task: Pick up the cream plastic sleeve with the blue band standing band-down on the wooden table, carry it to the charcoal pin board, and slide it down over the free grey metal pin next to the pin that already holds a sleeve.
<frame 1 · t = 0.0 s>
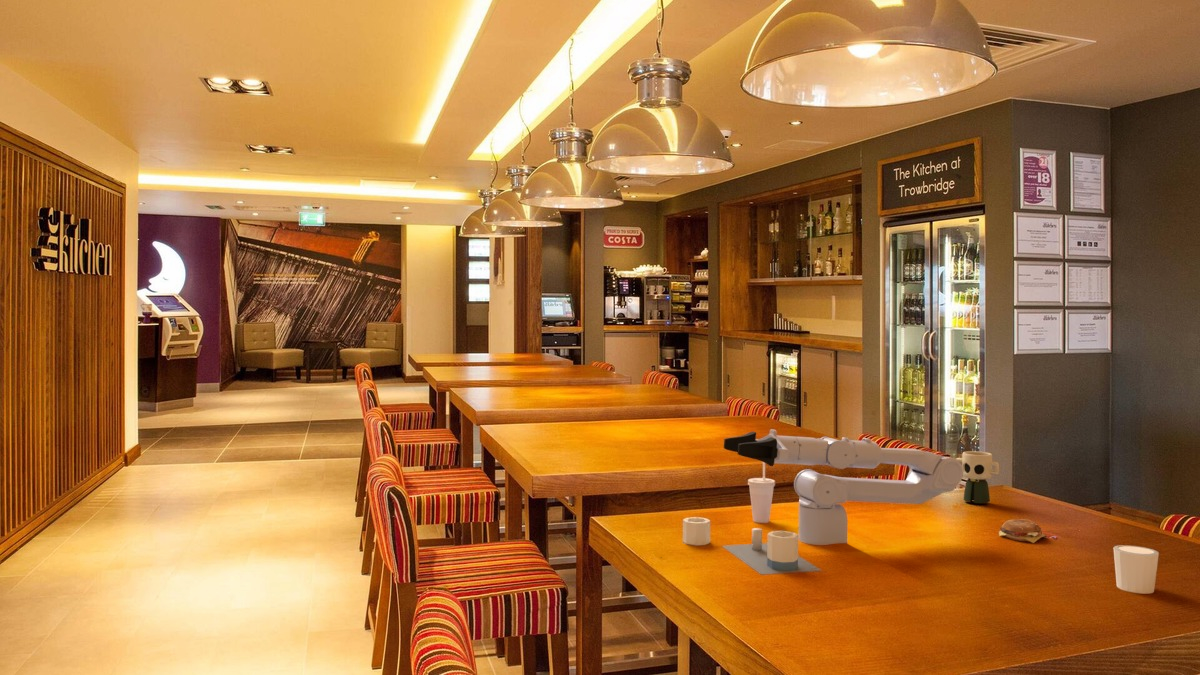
hand: (731, 446, 175), 22 cm above the table, tool horizontal, fingers open, 7 cm apart
white cup: (1135, 589, 153), on the table
pin board: (769, 565, 167), on the table
seated sleeve: (782, 566, 161), point 1 cm above the table, touching pin board
smoothie: (761, 521, 203), on the table
character mug: (976, 503, 223), on the table
hamburger: (1030, 540, 189), on the table
sleeve: (696, 548, 178), on the table
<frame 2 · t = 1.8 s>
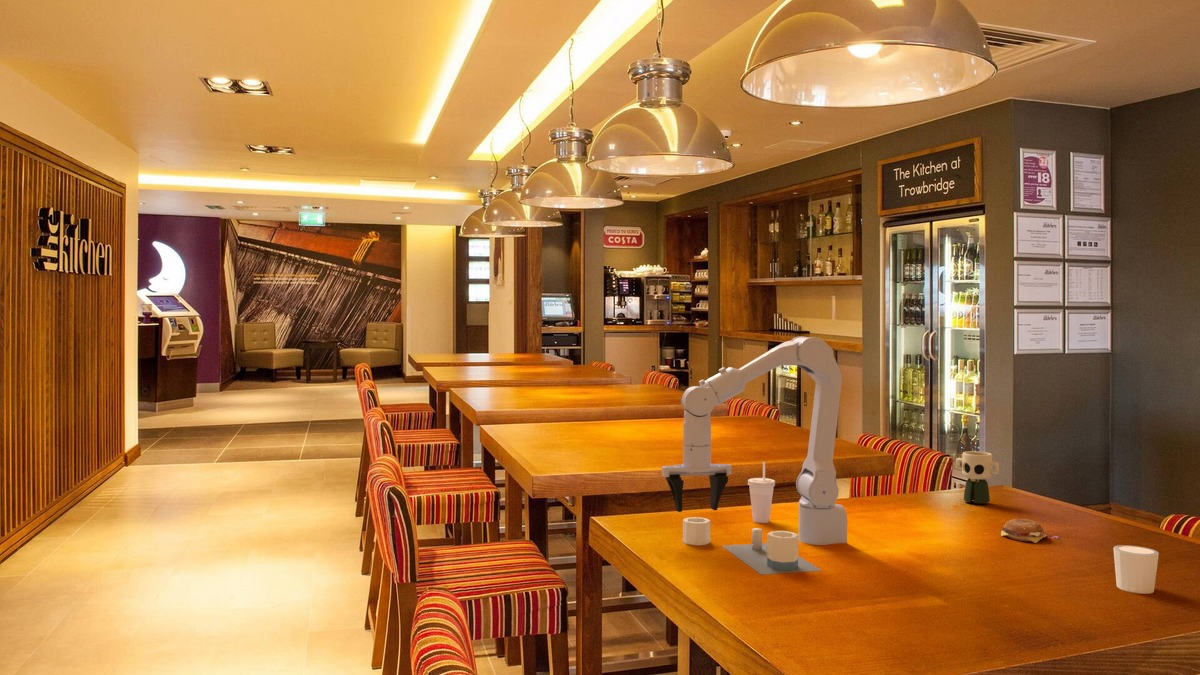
hand: (696, 510, 178), 8 cm above the table, tool pointing down, fingers open, 7 cm apart
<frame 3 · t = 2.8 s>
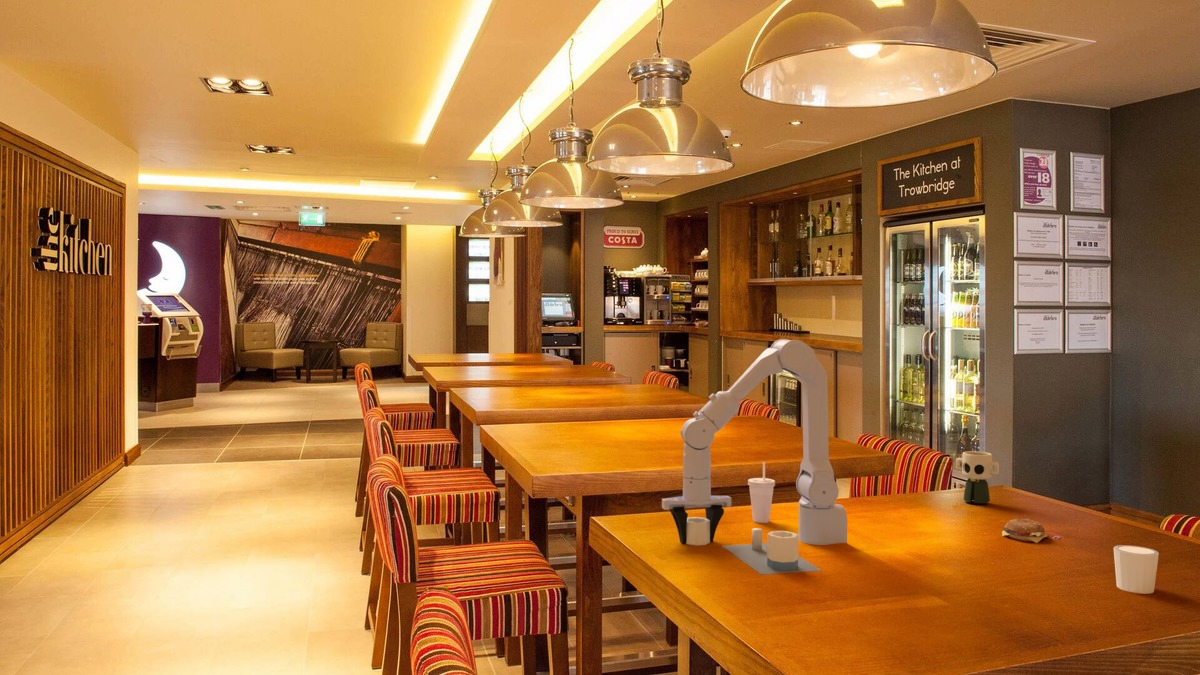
hand: (696, 542, 178), 1 cm above the table, tool pointing down, fingers closed on sleeve, 5 cm apart
sleeve: (696, 548, 178), on the table, touching gripper
everything else where it was.
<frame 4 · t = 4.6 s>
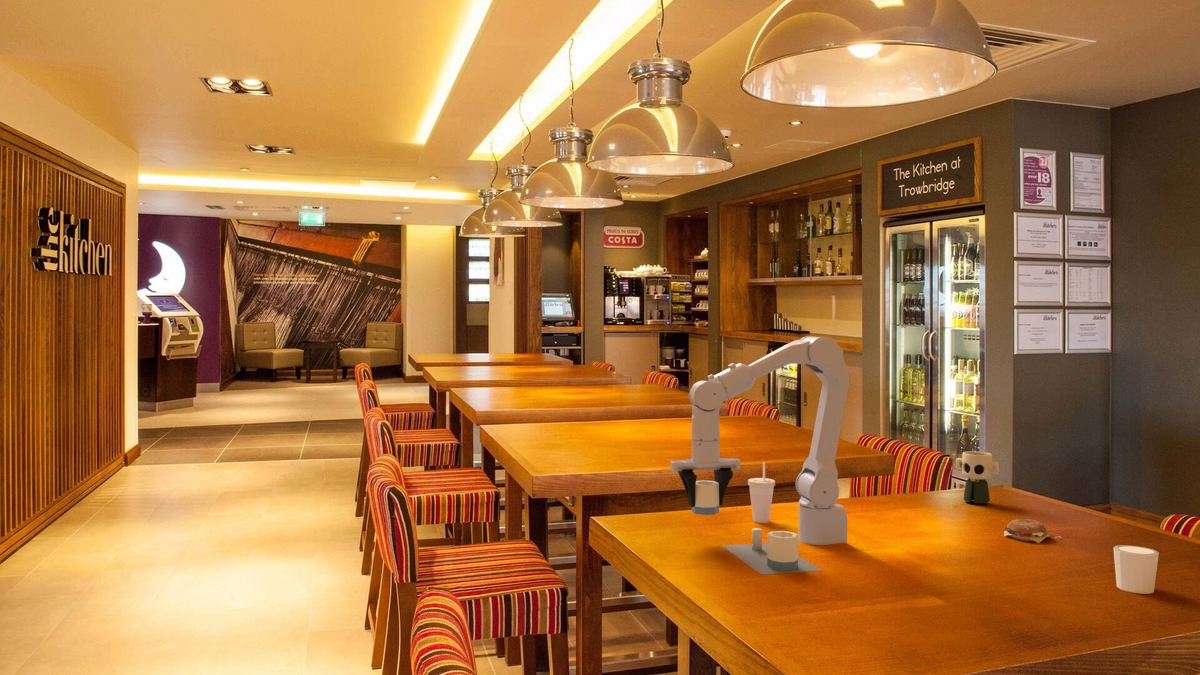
hand: (705, 505, 177), 9 cm above the table, tool pointing down, fingers closed on sleeve, 5 cm apart
sleeve: (705, 511, 177), point 8 cm above the table, touching gripper
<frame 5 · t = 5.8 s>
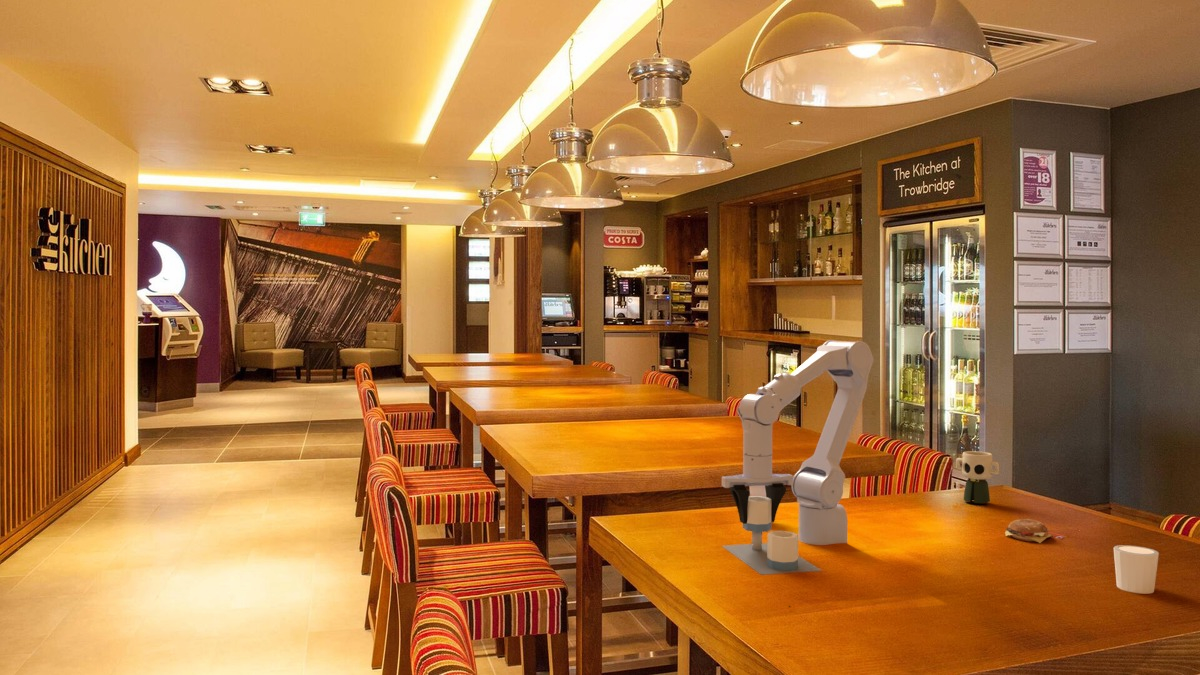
hand: (757, 521, 172), 7 cm above the table, tool pointing down, fingers closed on sleeve, 5 cm apart
sleeve: (757, 528, 172), point 6 cm above the table, touching gripper
when the fingers open (5 cm above the table, at t = 6.7 s): sleeve drops 2 cm, resting on pin board.
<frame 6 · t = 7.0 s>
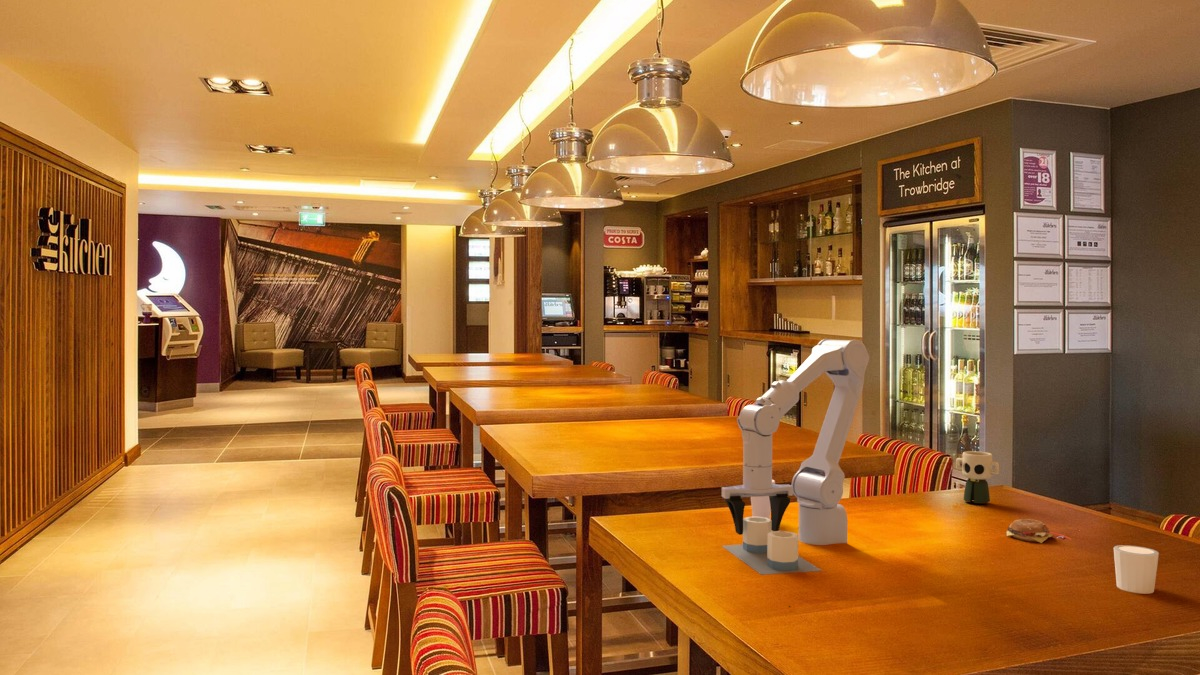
hand: (757, 532, 172), 5 cm above the table, tool pointing down, fingers open, 7 cm apart
sleeve: (757, 549, 172), point 1 cm above the table, touching pin board
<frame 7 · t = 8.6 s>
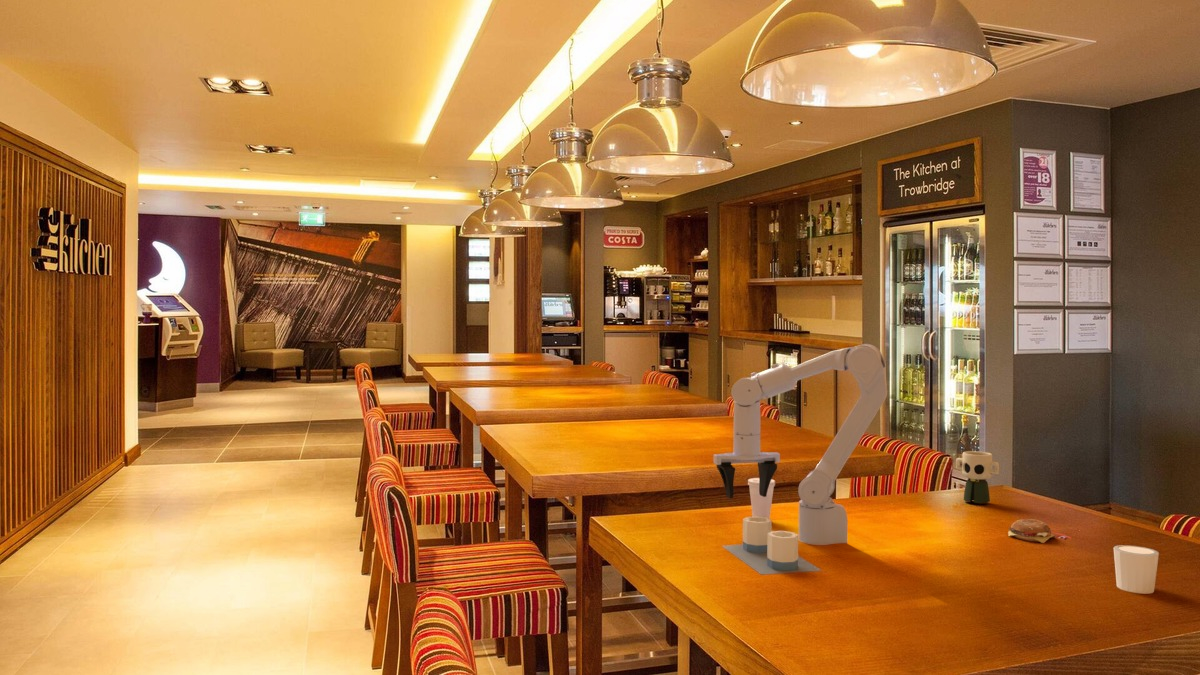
hand: (746, 496, 185), 9 cm above the table, tool pointing down, fingers open, 7 cm apart
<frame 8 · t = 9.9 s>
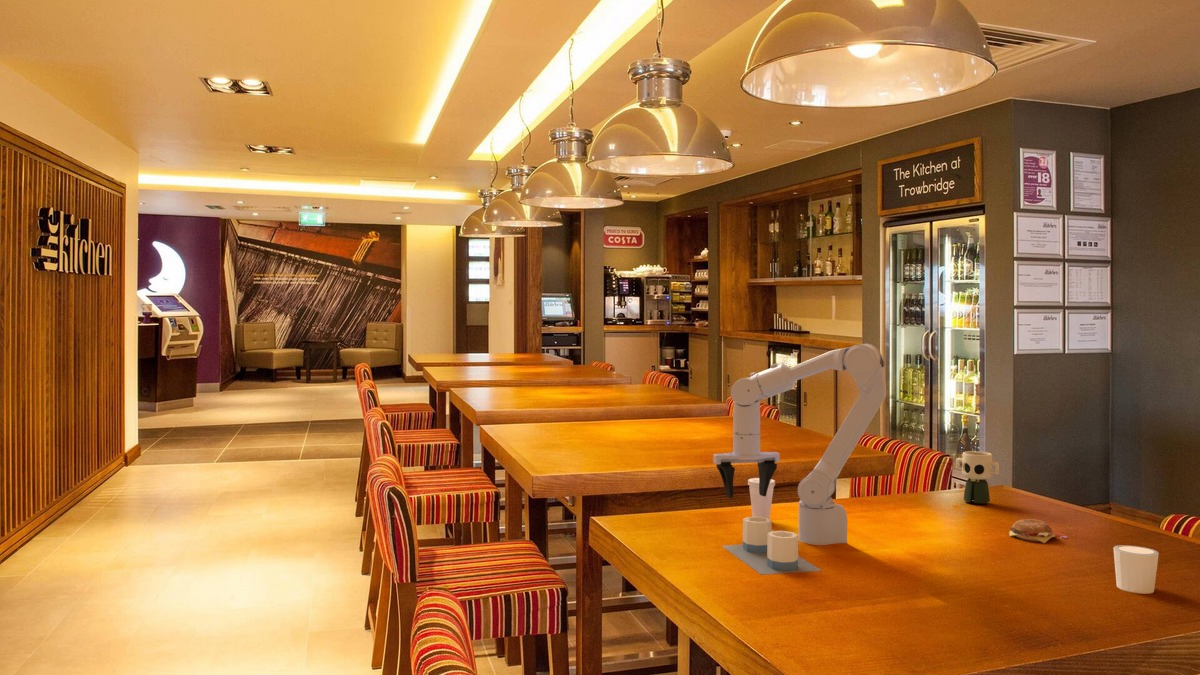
hand: (746, 496, 185), 9 cm above the table, tool pointing down, fingers open, 7 cm apart
at the end: sleeve 0.0 cm from the target spot on the pin board, point 1.5 cm above the pin board's base; sleeve tilted 0°; the gripper is holding nothing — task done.
